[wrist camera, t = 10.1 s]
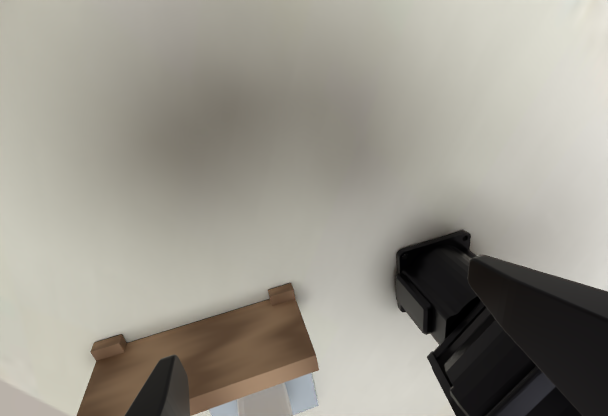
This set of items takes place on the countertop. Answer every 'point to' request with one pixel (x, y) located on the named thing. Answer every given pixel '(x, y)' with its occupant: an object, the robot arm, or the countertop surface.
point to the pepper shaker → (266, 403)
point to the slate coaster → (298, 393)
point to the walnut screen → (208, 357)
